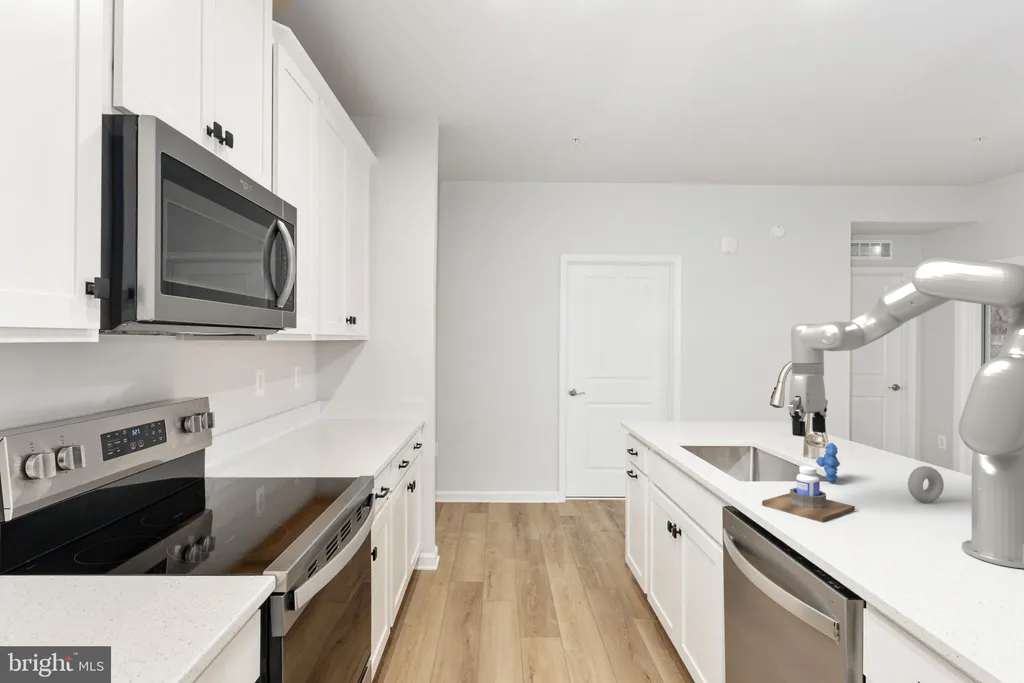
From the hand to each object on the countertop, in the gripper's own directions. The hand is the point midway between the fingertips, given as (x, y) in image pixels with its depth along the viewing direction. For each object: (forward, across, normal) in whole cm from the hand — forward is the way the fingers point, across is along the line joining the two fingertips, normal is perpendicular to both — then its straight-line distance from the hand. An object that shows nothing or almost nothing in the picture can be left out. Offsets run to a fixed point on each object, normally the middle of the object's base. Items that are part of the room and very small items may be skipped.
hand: (809, 434), depth 141 cm
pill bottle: (+19, 0, -1) cm, 19 cm away
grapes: (+20, -32, -12) cm, 39 cm away
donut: (+20, -32, +14) cm, 41 cm away
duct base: (+20, 0, -1) cm, 20 cm away
